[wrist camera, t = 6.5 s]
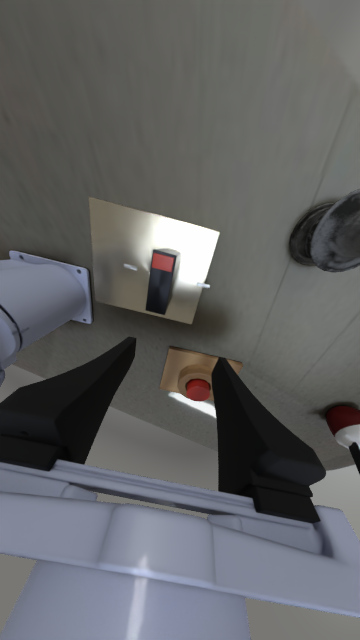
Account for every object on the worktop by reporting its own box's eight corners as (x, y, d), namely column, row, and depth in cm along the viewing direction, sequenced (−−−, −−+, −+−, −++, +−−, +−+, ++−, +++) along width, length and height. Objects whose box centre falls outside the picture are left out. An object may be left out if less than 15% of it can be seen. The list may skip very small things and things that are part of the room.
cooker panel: (106, 294, 19) (94, 301, 17) (104, 203, 15) (86, 195, 12) (196, 316, 20) (196, 326, 17) (222, 235, 15) (227, 233, 13)
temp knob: (171, 300, 16) (164, 316, 12) (155, 296, 16) (144, 311, 12) (181, 252, 14) (176, 255, 10) (163, 248, 14) (151, 249, 10)
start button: (184, 389, 24) (184, 398, 23) (190, 375, 22) (189, 384, 21) (205, 394, 24) (205, 403, 23) (212, 380, 22) (213, 389, 21)
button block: (159, 385, 27) (156, 398, 25) (169, 345, 22) (167, 356, 20) (220, 399, 28) (222, 412, 25) (242, 362, 23) (247, 375, 21)
